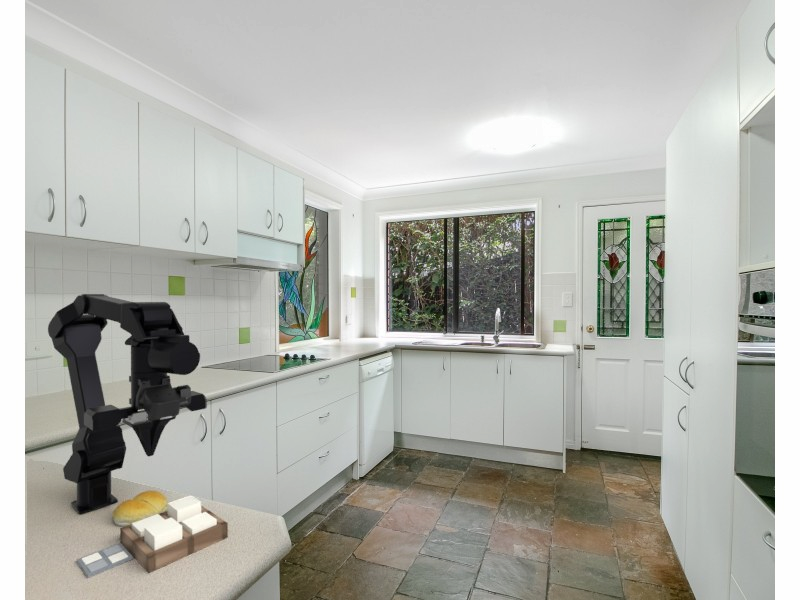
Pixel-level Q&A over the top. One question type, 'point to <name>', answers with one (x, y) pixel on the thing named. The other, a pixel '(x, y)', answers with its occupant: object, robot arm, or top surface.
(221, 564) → the top surface
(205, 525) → the button
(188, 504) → the button
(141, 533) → the button
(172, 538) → the button
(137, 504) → the bread roll
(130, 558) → the pattern card
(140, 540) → the brown flat square grid
